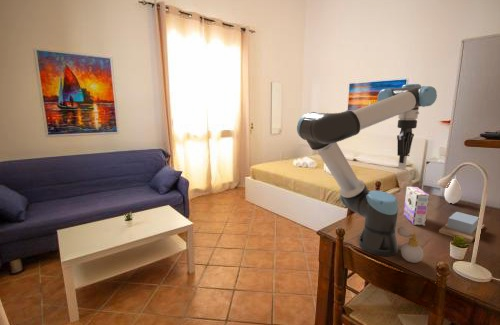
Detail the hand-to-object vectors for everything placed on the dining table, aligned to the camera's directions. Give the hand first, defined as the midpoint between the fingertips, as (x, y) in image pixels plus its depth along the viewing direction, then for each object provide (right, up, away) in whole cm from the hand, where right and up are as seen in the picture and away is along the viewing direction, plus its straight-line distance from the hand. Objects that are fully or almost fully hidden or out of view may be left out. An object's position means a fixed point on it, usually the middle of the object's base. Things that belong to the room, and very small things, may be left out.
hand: (401, 169), depth 123 cm
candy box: (+14, -27, +13) cm, 33 cm away
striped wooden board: (+30, -29, +2) cm, 42 cm away
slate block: (+26, -27, -2) cm, 37 cm away
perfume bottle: (-10, -35, -22) cm, 43 cm away
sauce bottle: (+51, -22, +35) cm, 66 cm away
